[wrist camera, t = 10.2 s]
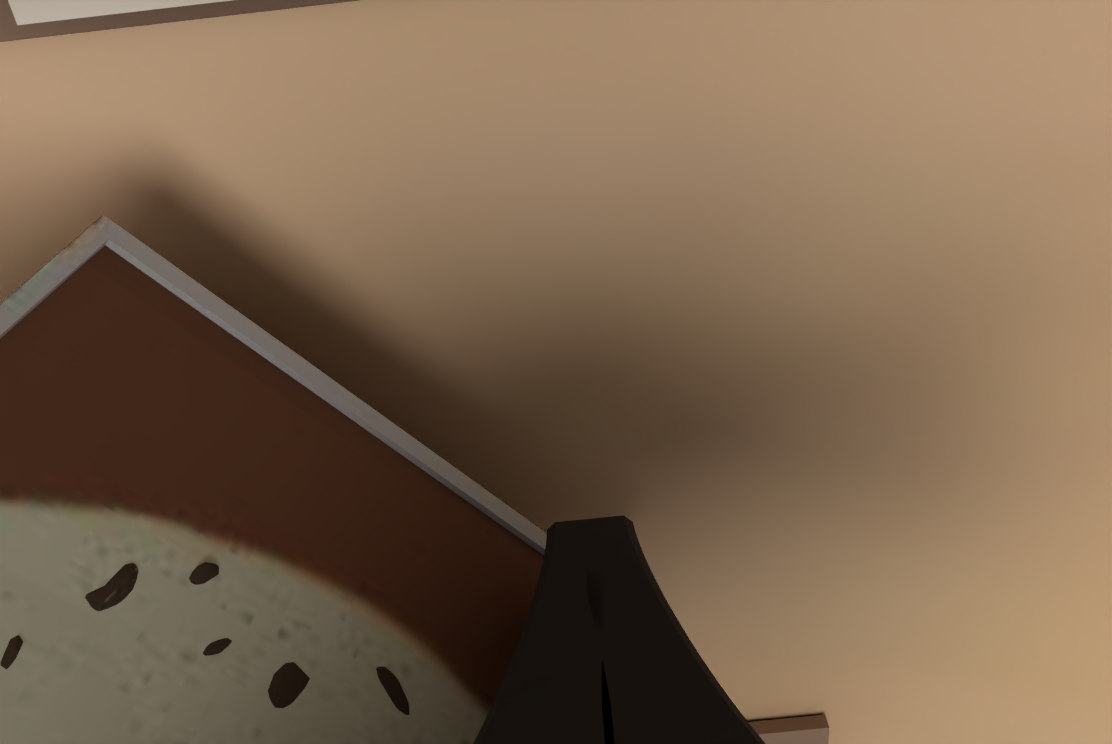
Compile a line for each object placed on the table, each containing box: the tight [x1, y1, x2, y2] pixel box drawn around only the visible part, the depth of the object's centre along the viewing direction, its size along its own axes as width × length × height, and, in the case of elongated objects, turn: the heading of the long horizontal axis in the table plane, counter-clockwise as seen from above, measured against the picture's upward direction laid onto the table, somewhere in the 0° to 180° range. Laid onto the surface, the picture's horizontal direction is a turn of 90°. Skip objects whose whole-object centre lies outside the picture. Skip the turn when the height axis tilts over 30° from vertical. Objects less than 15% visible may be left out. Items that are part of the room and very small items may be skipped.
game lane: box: [0, 0, 829, 744], centre depth 16 cm, size 18×20×1 cm
